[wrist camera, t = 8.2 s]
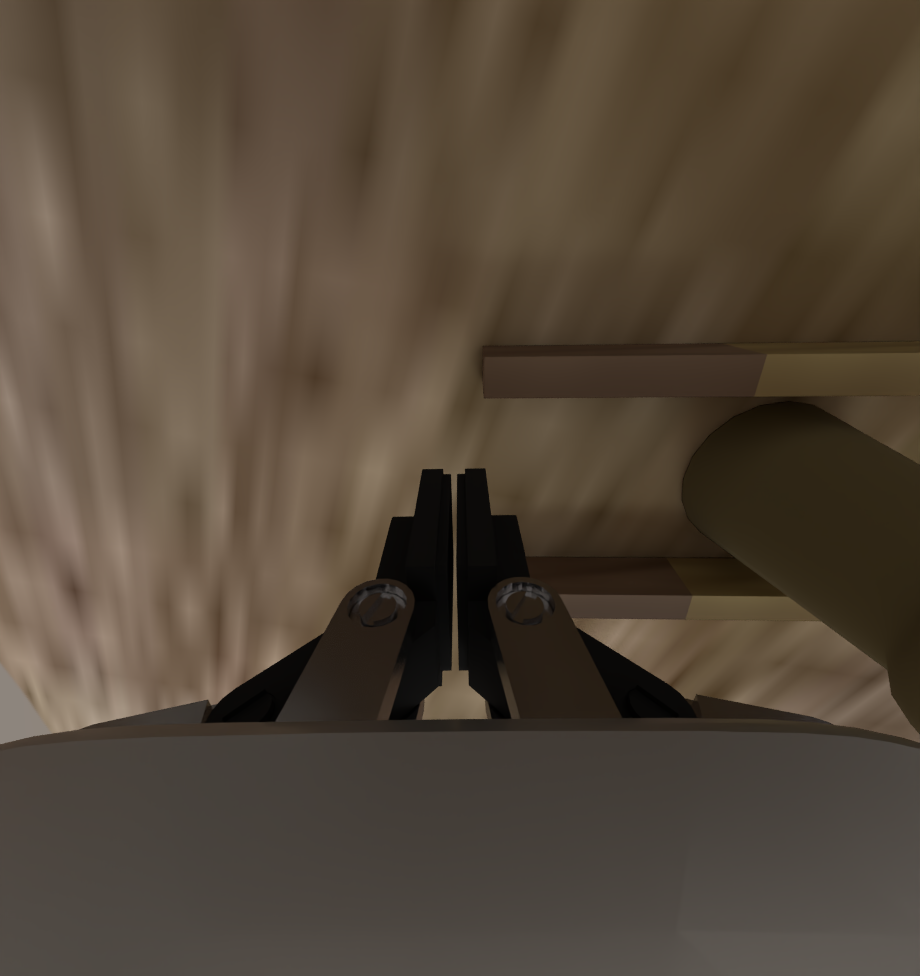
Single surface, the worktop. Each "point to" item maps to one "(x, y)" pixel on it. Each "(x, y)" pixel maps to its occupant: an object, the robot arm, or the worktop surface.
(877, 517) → the olive brown waisted cylinder
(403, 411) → the worktop surface
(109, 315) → the worktop surface
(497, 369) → the slot track
